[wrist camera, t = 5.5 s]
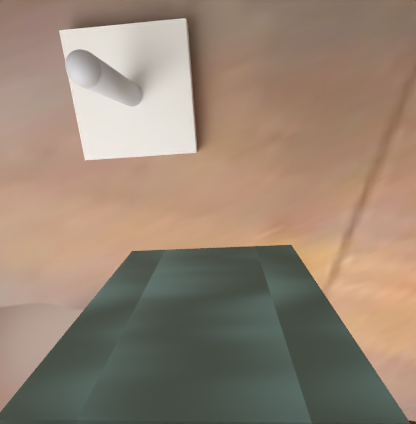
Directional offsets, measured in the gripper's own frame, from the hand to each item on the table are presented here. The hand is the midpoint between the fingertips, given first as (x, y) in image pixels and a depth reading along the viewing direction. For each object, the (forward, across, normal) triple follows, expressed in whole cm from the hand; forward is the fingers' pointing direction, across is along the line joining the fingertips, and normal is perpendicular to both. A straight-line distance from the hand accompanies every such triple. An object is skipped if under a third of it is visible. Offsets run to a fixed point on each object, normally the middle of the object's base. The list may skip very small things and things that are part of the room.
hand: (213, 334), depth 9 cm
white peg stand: (+16, +7, -11) cm, 20 cm away
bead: (+1, 0, 0) cm, 1 cm away
